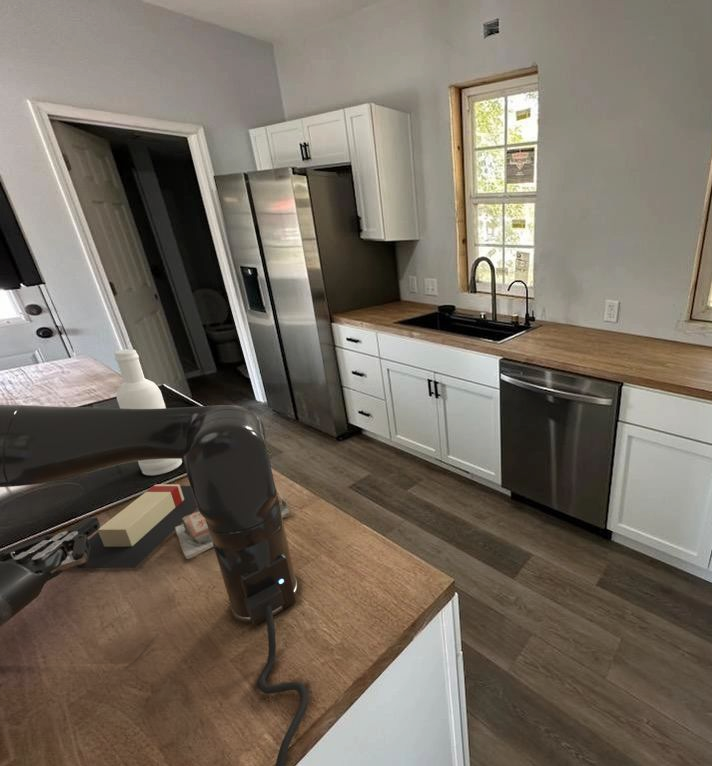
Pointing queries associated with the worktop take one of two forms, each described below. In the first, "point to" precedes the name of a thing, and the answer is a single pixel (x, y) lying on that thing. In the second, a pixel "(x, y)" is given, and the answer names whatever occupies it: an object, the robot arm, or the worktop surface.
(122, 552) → the mat
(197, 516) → the packaged product
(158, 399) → the bottle
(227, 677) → the worktop surface
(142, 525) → the carton
